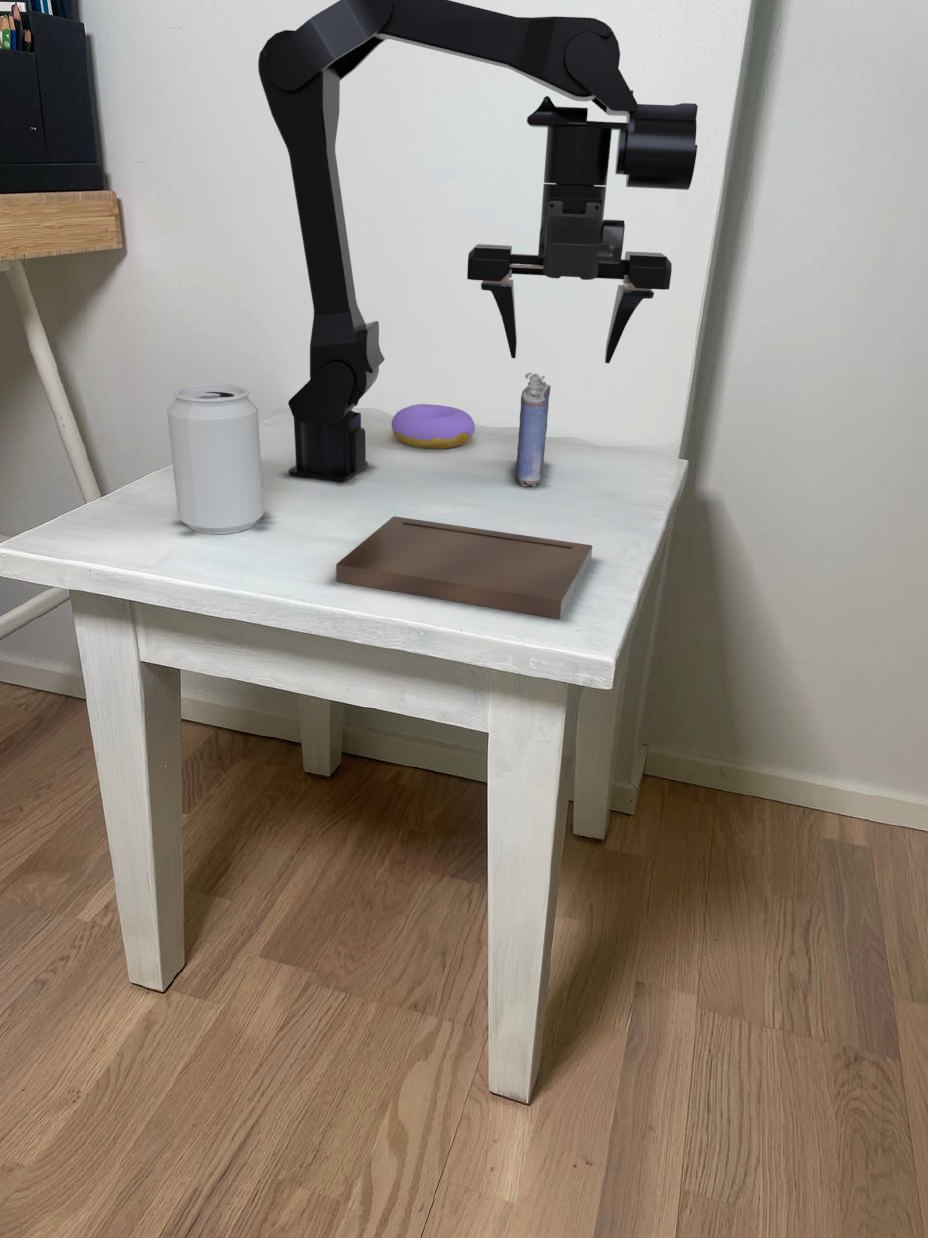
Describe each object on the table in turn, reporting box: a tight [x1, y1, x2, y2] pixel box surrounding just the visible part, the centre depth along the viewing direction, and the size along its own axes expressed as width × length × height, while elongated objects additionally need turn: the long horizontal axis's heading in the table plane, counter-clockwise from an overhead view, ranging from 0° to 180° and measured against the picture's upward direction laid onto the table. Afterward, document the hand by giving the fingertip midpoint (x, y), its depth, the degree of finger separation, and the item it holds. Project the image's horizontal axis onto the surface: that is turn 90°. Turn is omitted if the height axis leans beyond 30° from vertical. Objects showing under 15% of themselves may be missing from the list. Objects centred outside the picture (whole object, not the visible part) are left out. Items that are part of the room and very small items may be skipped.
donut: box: [391, 403, 476, 450], centre depth 109 cm, size 10×9×5 cm
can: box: [166, 383, 265, 535], centre depth 81 cm, size 8×8×12 cm
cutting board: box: [335, 515, 593, 620], centre depth 75 cm, size 18×12×2 cm, turn 72°
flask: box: [515, 372, 552, 488], centre depth 97 cm, size 9×3×11 cm, turn 172°
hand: (560, 360), depth 91 cm, fingers open, 9 cm apart
